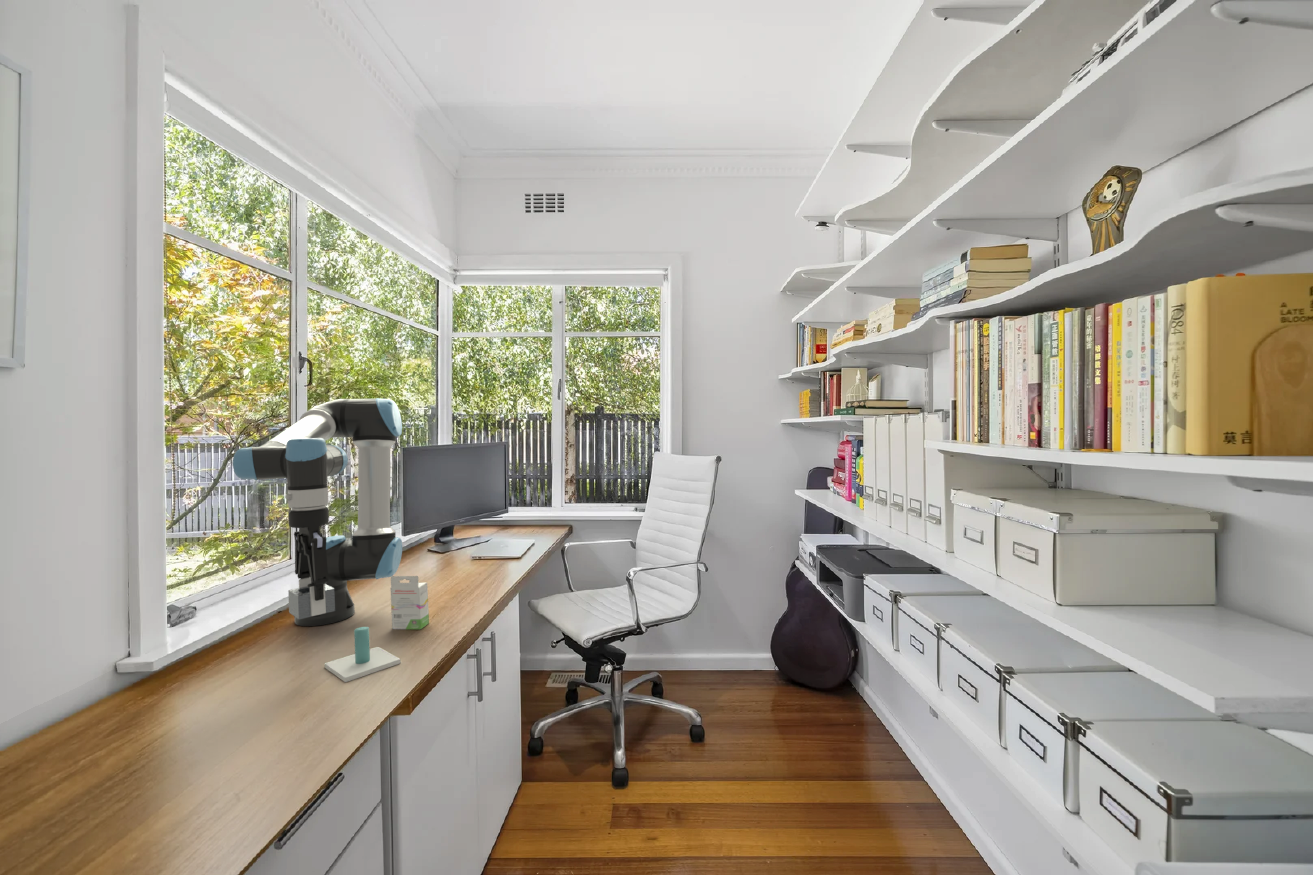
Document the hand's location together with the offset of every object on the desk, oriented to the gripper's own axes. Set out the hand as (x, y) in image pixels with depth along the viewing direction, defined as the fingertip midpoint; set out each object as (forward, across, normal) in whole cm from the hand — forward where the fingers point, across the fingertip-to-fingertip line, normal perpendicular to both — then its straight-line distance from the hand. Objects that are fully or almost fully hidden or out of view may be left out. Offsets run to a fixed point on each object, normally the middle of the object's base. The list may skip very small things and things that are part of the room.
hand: (312, 610), depth 122 cm
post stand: (+15, +2, +9) cm, 18 cm away
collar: (0, 0, 0) cm, 0 cm away
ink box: (+15, -14, +28) cm, 35 cm away
